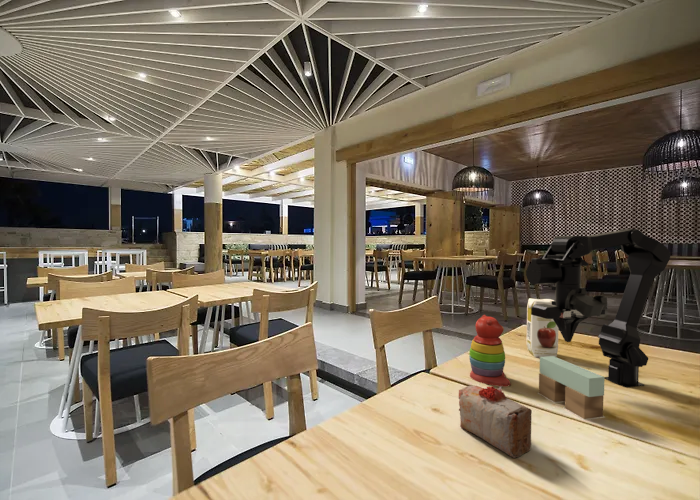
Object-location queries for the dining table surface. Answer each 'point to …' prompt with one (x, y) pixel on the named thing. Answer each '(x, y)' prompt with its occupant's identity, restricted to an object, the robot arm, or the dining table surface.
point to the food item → (496, 419)
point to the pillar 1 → (551, 388)
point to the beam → (572, 376)
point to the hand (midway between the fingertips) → (567, 341)
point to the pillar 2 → (583, 404)
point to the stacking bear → (488, 353)
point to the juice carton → (541, 332)
